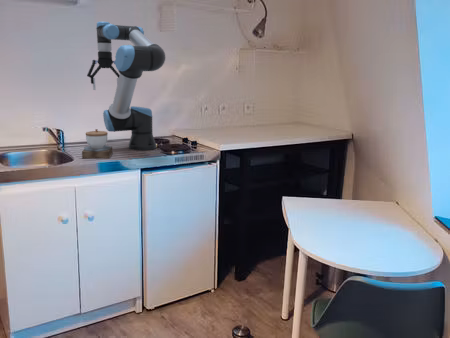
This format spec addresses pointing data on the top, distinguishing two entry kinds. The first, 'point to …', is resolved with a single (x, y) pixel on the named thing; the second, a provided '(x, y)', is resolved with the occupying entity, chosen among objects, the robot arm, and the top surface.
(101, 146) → the lidded jar
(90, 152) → the dish stand
